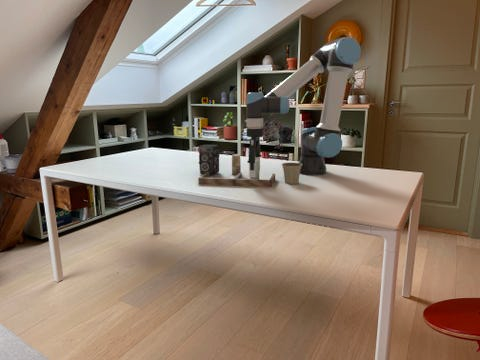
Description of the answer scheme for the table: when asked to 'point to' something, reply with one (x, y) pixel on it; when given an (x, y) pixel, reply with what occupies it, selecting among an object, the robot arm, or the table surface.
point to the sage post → (256, 171)
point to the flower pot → (291, 172)
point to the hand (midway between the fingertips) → (254, 173)
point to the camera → (209, 159)
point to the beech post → (236, 164)
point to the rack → (235, 181)
